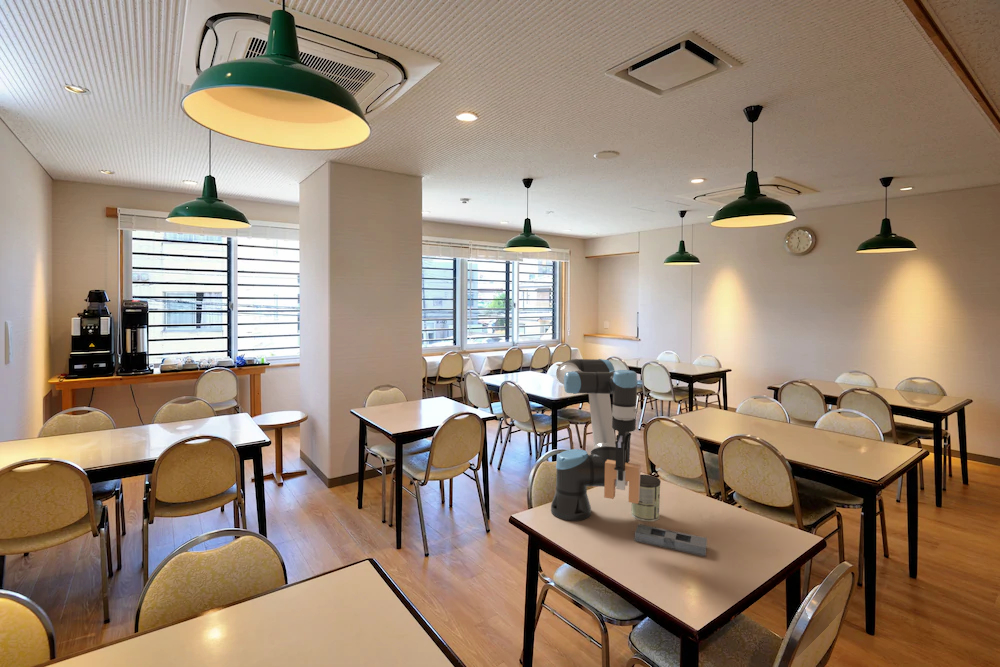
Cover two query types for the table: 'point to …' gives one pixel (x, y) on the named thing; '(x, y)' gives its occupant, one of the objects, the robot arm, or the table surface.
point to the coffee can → (647, 499)
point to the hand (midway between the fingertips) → (622, 486)
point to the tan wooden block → (631, 476)
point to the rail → (671, 540)
